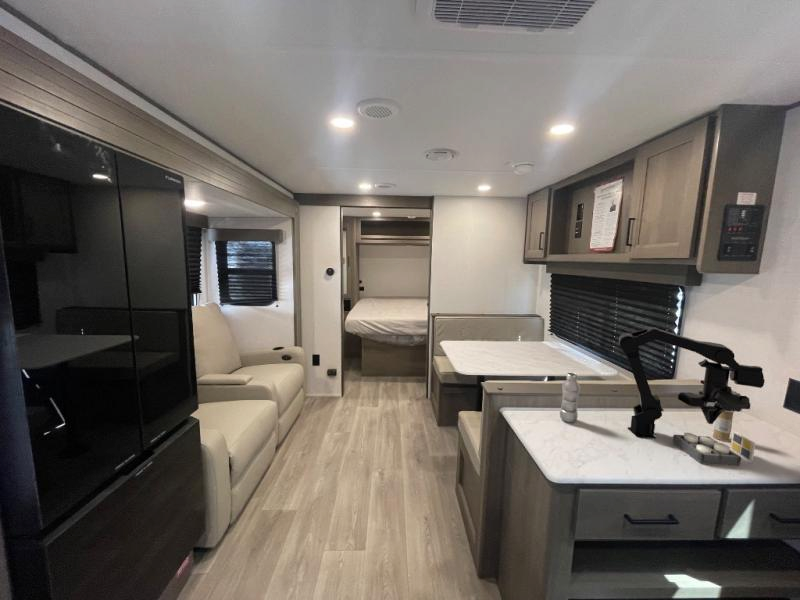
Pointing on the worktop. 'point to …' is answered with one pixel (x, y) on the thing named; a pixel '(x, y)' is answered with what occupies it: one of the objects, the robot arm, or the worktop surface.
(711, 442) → the button
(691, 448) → the button board
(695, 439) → the button
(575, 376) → the plastic bottle
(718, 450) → the button
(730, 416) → the sprinkles bottle
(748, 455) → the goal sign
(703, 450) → the button
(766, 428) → the worktop surface
